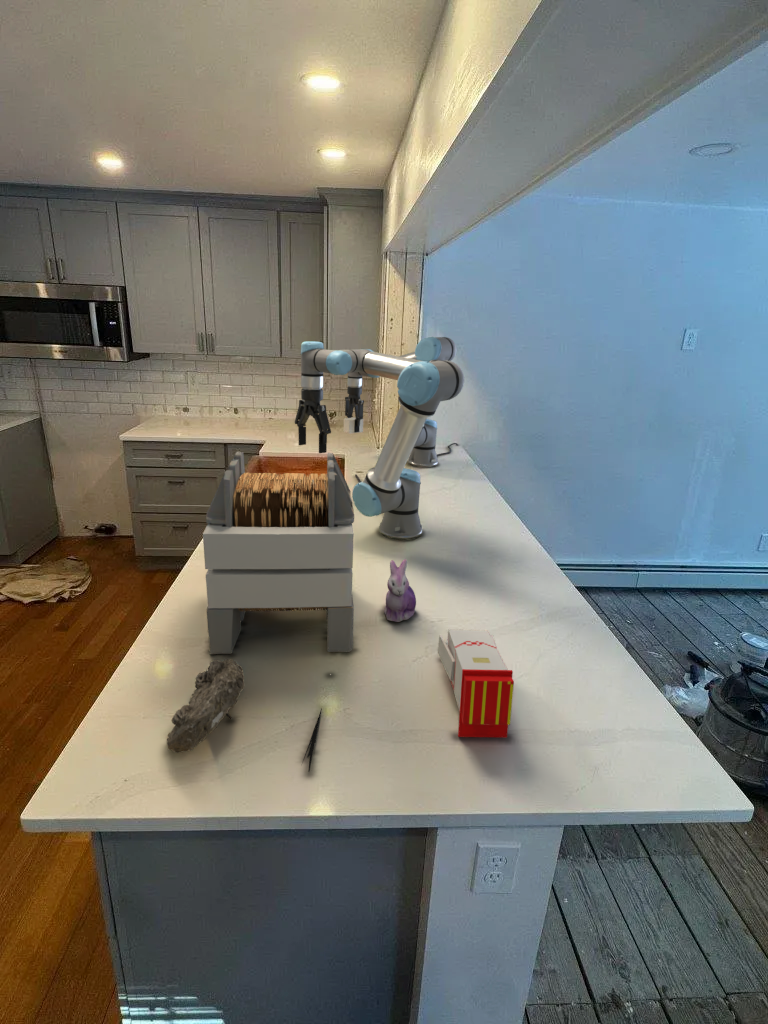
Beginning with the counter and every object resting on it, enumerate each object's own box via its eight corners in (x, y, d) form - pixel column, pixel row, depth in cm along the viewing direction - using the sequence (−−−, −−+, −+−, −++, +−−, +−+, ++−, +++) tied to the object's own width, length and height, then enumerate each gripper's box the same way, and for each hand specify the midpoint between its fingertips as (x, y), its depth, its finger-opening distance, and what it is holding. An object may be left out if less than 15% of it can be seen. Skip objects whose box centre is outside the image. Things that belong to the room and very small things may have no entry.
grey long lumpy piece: (192, 660, 117) (244, 628, 112) (224, 691, 120) (276, 661, 115) (142, 746, 98) (202, 712, 93) (182, 779, 101) (242, 748, 96)
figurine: (392, 627, 141) (395, 572, 136) (374, 608, 149) (376, 556, 144) (425, 619, 145) (429, 566, 140) (405, 601, 154) (408, 550, 149)
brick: (349, 433, 295) (349, 420, 292) (343, 431, 299) (343, 418, 296) (362, 432, 300) (363, 418, 298) (357, 430, 304) (357, 417, 302)
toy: (488, 613, 130) (523, 677, 101) (484, 667, 133) (517, 744, 104) (435, 612, 130) (455, 676, 101) (432, 666, 133) (451, 743, 103)
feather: (331, 679, 122) (336, 673, 122) (307, 777, 96) (313, 769, 95) (324, 675, 122) (329, 669, 121) (298, 772, 95) (304, 764, 95)
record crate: (229, 585, 158) (221, 442, 144) (346, 584, 161) (350, 444, 148) (206, 656, 126) (193, 481, 112) (353, 652, 130) (358, 483, 116)
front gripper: (341, 392, 188) (340, 454, 195) (302, 383, 206) (303, 440, 213) (322, 393, 184) (322, 457, 191) (284, 384, 202) (285, 442, 209)
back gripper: (371, 388, 287) (369, 433, 295) (350, 383, 300) (349, 427, 308) (359, 389, 283) (358, 435, 291) (338, 384, 296) (337, 428, 304)
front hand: (312, 448), depth 202 cm, fingers open, 13 cm apart
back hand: (353, 430), depth 299 cm, fingers closed on brick, 5 cm apart
